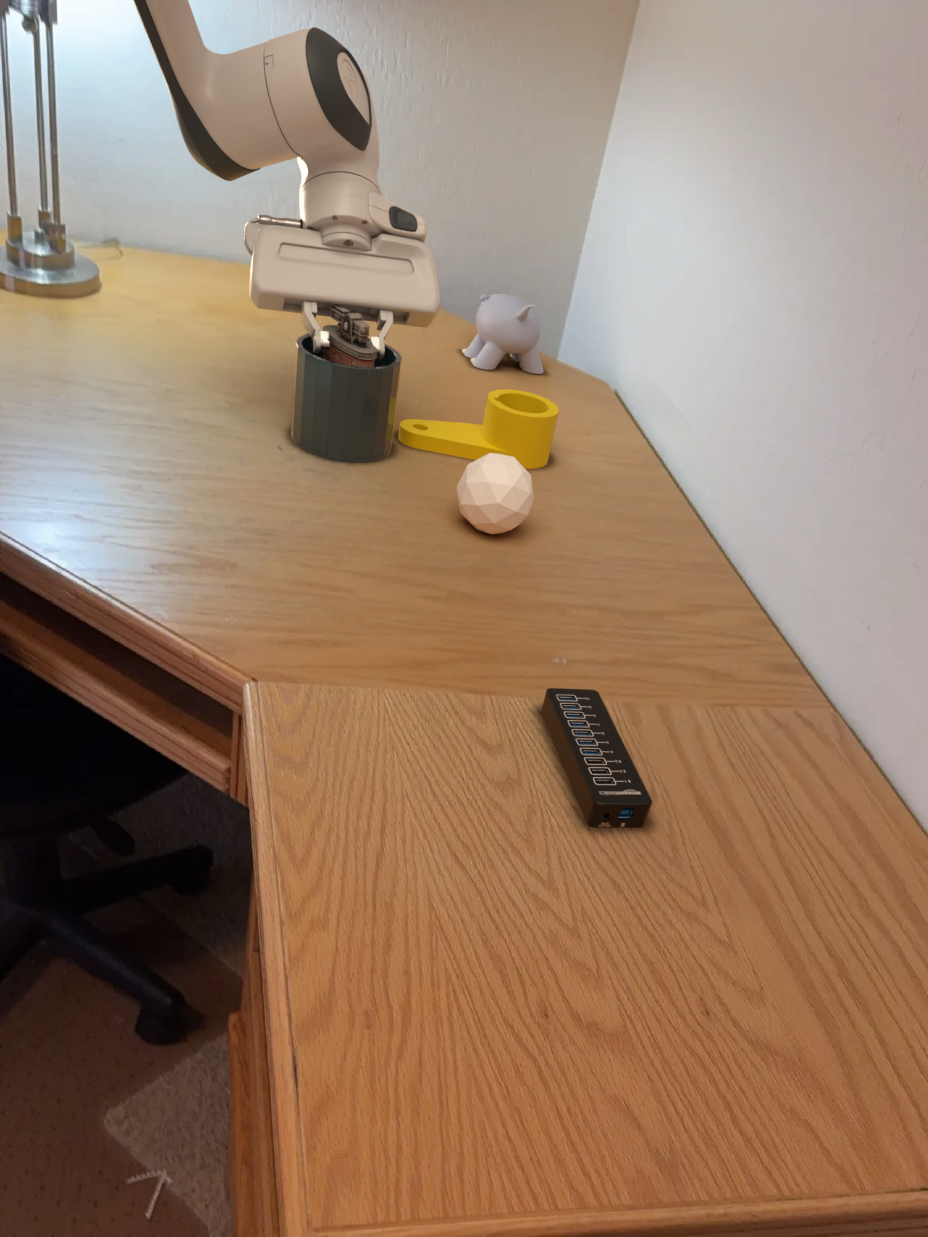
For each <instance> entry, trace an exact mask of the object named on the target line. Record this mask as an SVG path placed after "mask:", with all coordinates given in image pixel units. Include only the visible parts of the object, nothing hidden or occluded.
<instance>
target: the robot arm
mask: <svg viewBox="0 0 928 1237" xmlns="http://www.w3.org/2000/svg"><path fill="white" fill-rule="evenodd" d="M132 2H133V5H134V7H135V10H136V13H137V15H138V18H139V19H140V22H141V25H142V28H143V29H144V32H145V35H146V37H147V41H148V42H149V45H150V47H151V50H152V52H153V54H154V58H155V60H156V63H157V64H158V67H159V70H160V72H161V75H162V78H163V80H164V82H165V85H166V88H167V90H168V94H169V98H170V102H171V105H172V107H173V111H174V115H175V118H176V121H177V124H178V128H179V131H180V134H181V137H182V139H183V142H184V144H185V147H186V149H187V151H188V153H189V154H190V156H191V158H192V159H193V160H194V161H195V162H196V163H198V165H200V166H201V167H203V168H204V169H205V170H206V171H208V172H209V173H211V174H212V175H214V176H216V177H218V178H219V179H222V180H224V181H226V182H232V181H233V182H234V181H236V180H238V179H240V178H242V177H245V176H247V175H249V174H253V173H254V172H257V171H260V170H261V169H262V168H265V167H268V166H272V165H276V164H280V163H283V162H286V161H291V160H293V159H296V160H297V165H298V168H299V170H300V174H301V182H300V185H299V190H298V202H299V218H298V219H297V218H290V217H275V216H272V215H268V214H258V216H257V217H255V218H252V219H250V220H249V221H247V222H246V223H245V226H244V228H243V232H244V234H243V237H244V247H245V249H246V251H247V253H248V254H249V255H250V256H251V262H250V268H249V269H250V270H249V282H248V283H249V285H248V288H249V289H248V294H249V297H248V298H249V299H250V301H251V302H252V303H253V305H254V306H255V307H256V308H257V309H260V310H267V311H277V312H284V313H293V314H300V323H301V324H302V326H303V327H304V329H305V330H306V332H307V334H308V333H309V335H310V336H311V338H313V351H314V353H319V354H328V351H329V348H330V341H329V331H323V329H322V328H321V327H320V324H319V323H318V321H317V319H316V317H317V316H320V317H329V318H331V317H330V312H331V306H333V304H338V305H341V306H342V307H344V308H345V309H347V310H349V311H350V313H360V314H361V315H362V317H363V321H364V322H372V323H373V322H375V325H376V330H377V331H380V332H379V333H378V336H377V335H370V337H369V338H370V341H369V342H370V343H371V344H372V345H374V346H375V347H376V348H377V357H376V358H375V359H376V360H377V359H378V360H382V359H383V357H384V353H385V345H384V344H385V340H386V338H387V337H388V335H389V333H390V331H391V329H392V326H393V325H398V326H408V327H417V328H425V329H426V328H428V327H429V326H431V325H432V323H433V322H434V321H435V320H436V318H437V317H438V315H439V311H440V310H441V289H440V281H439V275H438V269H437V264H436V260H435V257H434V254H433V251H432V250H431V249H430V247H429V246H428V245H427V244H426V243H425V241H426V238H427V233H428V227H427V226H428V225H427V221H426V220H425V218H424V217H422V215H421V216H420V215H419V214H417V213H415V212H413V211H411V210H409V209H406V208H404V207H402V206H400V205H398V204H396V203H395V202H392V201H390V200H389V199H387V198H386V197H385V196H383V195H382V189H381V187H380V184H379V181H378V172H379V168H380V142H379V134H378V126H377V117H376V113H375V107H374V102H373V97H372V93H371V90H370V85H369V83H368V80H367V77H366V76H365V74H364V72H363V71H362V69H361V67H360V65H359V63H358V62H357V60H356V59H355V57H354V56H353V54H352V53H351V52H350V51H349V50H348V48H346V47H345V46H344V45H343V44H342V43H340V42H339V41H338V39H336V38H335V37H334V36H332V35H331V34H329V33H327V32H326V31H324V30H323V29H321V28H319V27H315V26H313V27H311V28H304V29H300V30H297V31H293V32H290V33H286V34H284V35H281V36H277V37H274V38H271V39H268V41H264V42H261V43H259V44H255V45H252V46H249V47H246V48H242V49H240V50H236V51H232V52H229V53H225V54H222V53H217V52H214V51H212V50H210V49H208V48H207V47H206V45H205V44H204V41H203V38H202V35H201V33H200V30H199V27H198V25H197V21H196V19H195V16H194V13H193V10H192V7H191V4H190V2H189V0H132Z"/></svg>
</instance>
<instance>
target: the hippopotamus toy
mask: <svg viewBox="0 0 928 1237" xmlns="http://www.w3.org/2000/svg"><path fill="white" fill-rule="evenodd" d="M479 300H480V302H481V304H480V305H479V307H478V310H477V312H476V317H475V328H476V332H477V333H476V334H475V336H474V338H473V339H472V340H471V342H470V344H469V345H468V347H466V348H462V350H461V353H462V354H463V355H464V357H467V358H469V359H470V363H472V366H473V367H474V368H475V369H476V368H477V369H478V370H479V369H480V370H484V371H492V370H495V369H496V368H497V366H498V365H499V363H501V361H502V360H503V358H504V356H505V355H506V354H509V356H510V358H511V359H512V360H513V361H515V362H517V363H518V366H519V368H521V370H522V371H524V372H525V373H529V374H533V375H543V374H544V373H545V371H544V366H543V363H542V359H541V355H540V351H539V348H538V346H537V344H538V342H539V340H540V337H541V331H542V330H541V328H542V327H541V322H540V319H539V317H538V313H537V312H536V310H535V308H537V306H536V304H530V303H528V302H527V301H526V300H524V299H523V298H521V297H520V296H517V295H513V294H510V293H509V294H507V293H493V294H490V295H489V294H486V293H483V294H481V295H480V297H479Z"/></svg>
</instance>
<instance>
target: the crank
mask: <svg viewBox="0 0 928 1237" xmlns="http://www.w3.org/2000/svg"><path fill="white" fill-rule="evenodd" d="M484 410H485V411H484V415H483V421H482V424H480V423H468V422H467V423H466V422H457V421H444V420H431V419H430V420H429V419H419V418H408V419H407V418H406V419H403V420H401V421H400V423H399V430H398V437H397V438H398V441H399V442H400V443H401V444H403V445H404V446H406V447H410V448H413V449H416V450H422V451H427V452H434V453H437V454H443V455H447V456H453V457H459V458H462V459H463V458H464V459H468V460H473V461H476V460H477V459H479V458H481V457H483V456H485V455H487V454H489V453H496V454H503V455H507V456H512V457H515V458H516V460H517V461H518V462H519V463H520V464H521V465H522V466H523V467H524V468H525V469H526V470H531V469H532V470H534V469H540V468H542V467H544V466H546V465H547V464H548V462H549V458H550V453H551V449H552V444H553V440H554V439H553V438H554V435H555V430H556V425H557V421H558V416H559V412H560V409H559V406H557V404H556V403H554V401H551V400H550V399H548V398H546V397H544V396H542V395H538V394H536V393H532V392H529V391H524V390H519V389H518V390H517V389H507V388H506V389H503V388H502V389H496V390H495V389H494V390H493V391H490V392H489V393H488V394H487V398H486V403H485V409H484Z"/></svg>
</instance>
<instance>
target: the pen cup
mask: <svg viewBox="0 0 928 1237" xmlns="http://www.w3.org/2000/svg"><path fill="white" fill-rule="evenodd" d="M367 341H370V337H368V339H367ZM384 345H385V353H384V357H383V359H382V360H378V359H377V360H376V359H375V361H374V367H358V366H349V365H344V364H339V363H334V362H331V361H328V360H325V359H323V354H319V353H314V351H313V338H311V336H310V335H309V333H308V332H307V333H305V334H303V335H301V336H299V337H298V338H297V339H296V341H295V347H294V348H295V349H294V350H295V352H294V369H293V386H292V405H291V420H290V421H291V424H290V431H291V434H290V438H291V440H292V442H293V443H294V445H296V446H297V447H298V448H300V450H302V451H304V452H306V453H308V454H310V455H313V456H315V457H318V458H322V459H325V460H328V461H329V460H330V461H334V462H338V463H339V462H341V463H348V464H365V463H367V464H368V463H373V462H374V463H375V462H377V461H381V460H384V459H386V458H387V457H388V456H389V455H390V454H391V451H392V445H393V440H394V431H395V422H396V421H395V420H396V414H397V404H398V396H399V389H400V379H401V371H402V362H403V358H402V355H401V353H400V352H399V351H397V350H396V349H395V348H394V347H392V346H390V345H389V344H386V343H384Z"/></svg>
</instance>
